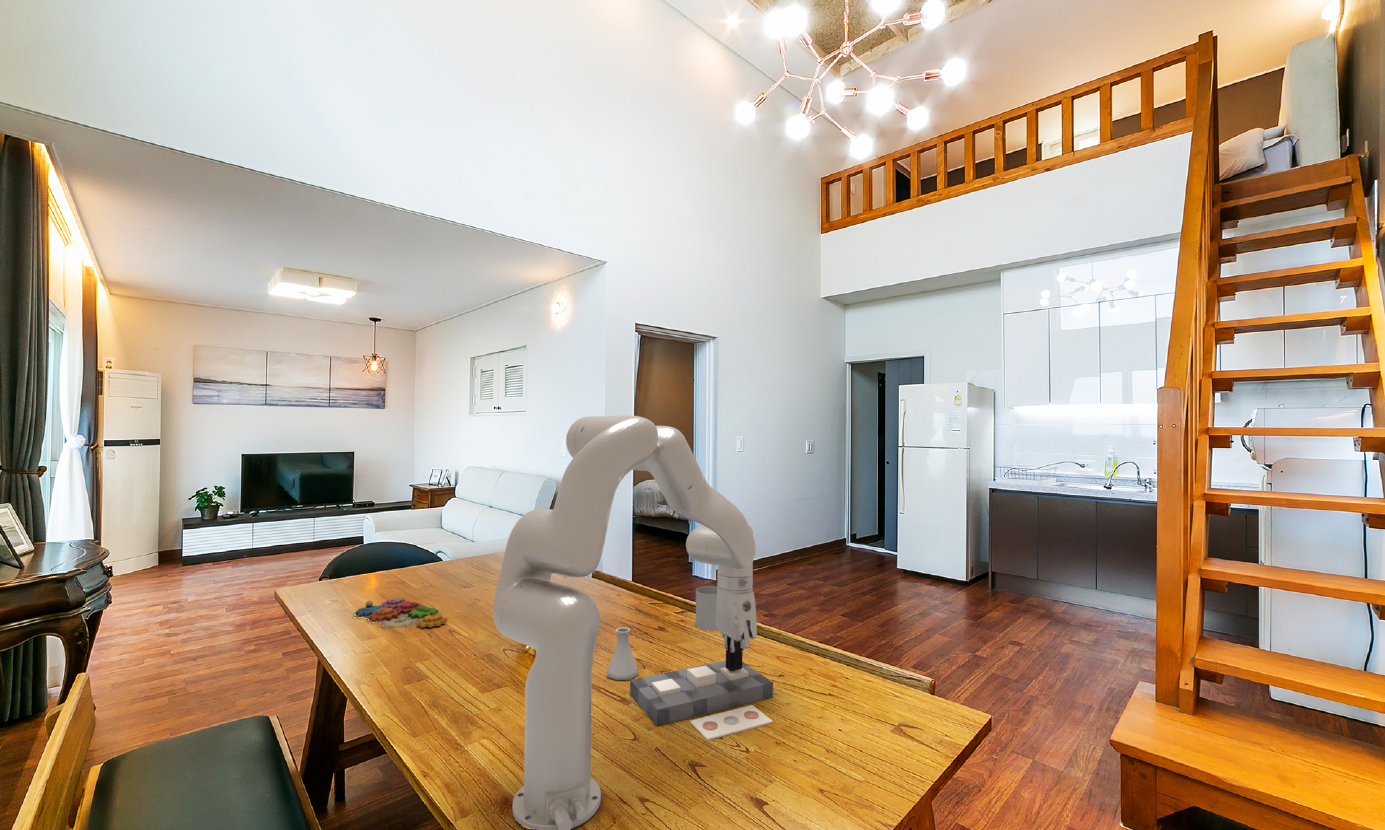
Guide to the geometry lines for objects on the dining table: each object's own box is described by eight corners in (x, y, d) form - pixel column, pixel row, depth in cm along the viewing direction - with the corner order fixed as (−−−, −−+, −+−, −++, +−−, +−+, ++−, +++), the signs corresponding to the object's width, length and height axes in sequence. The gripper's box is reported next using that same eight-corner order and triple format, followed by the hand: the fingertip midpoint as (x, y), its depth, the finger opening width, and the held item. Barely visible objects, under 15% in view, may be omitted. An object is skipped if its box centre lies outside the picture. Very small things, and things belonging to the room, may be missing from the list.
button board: (772, 697, 118) (772, 682, 119) (657, 726, 107) (657, 709, 107) (737, 671, 131) (737, 658, 131) (630, 694, 119) (630, 679, 119)
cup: (690, 623, 163) (691, 588, 163) (716, 619, 166) (716, 584, 167) (703, 633, 155) (704, 595, 156) (730, 628, 159) (730, 592, 159)
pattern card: (772, 722, 108) (772, 720, 108) (707, 740, 102) (707, 737, 102) (752, 706, 114) (752, 704, 114) (689, 722, 108) (689, 719, 108)
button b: (715, 691, 118) (715, 673, 118) (696, 695, 116) (696, 677, 116) (705, 682, 122) (705, 665, 122) (687, 686, 120) (687, 669, 120)
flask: (632, 683, 125) (633, 636, 125) (601, 679, 126) (602, 633, 126) (642, 669, 132) (643, 625, 132) (612, 666, 133) (613, 623, 133)
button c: (680, 705, 114) (680, 687, 114) (660, 710, 112) (660, 691, 112) (671, 696, 118) (671, 678, 118) (651, 700, 116) (651, 682, 116)
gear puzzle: (463, 622, 164) (463, 607, 164) (409, 639, 150) (410, 623, 150) (399, 604, 180) (399, 590, 180) (346, 618, 167) (346, 604, 167)
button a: (748, 689, 121) (748, 672, 122) (730, 693, 119) (730, 676, 120) (737, 681, 125) (737, 664, 125) (720, 685, 123) (720, 668, 123)
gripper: (769, 588, 118) (768, 679, 117) (731, 572, 131) (731, 653, 131) (738, 592, 115) (737, 686, 114) (702, 575, 128) (701, 659, 127)
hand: (733, 668), depth 122 cm, fingers closed
